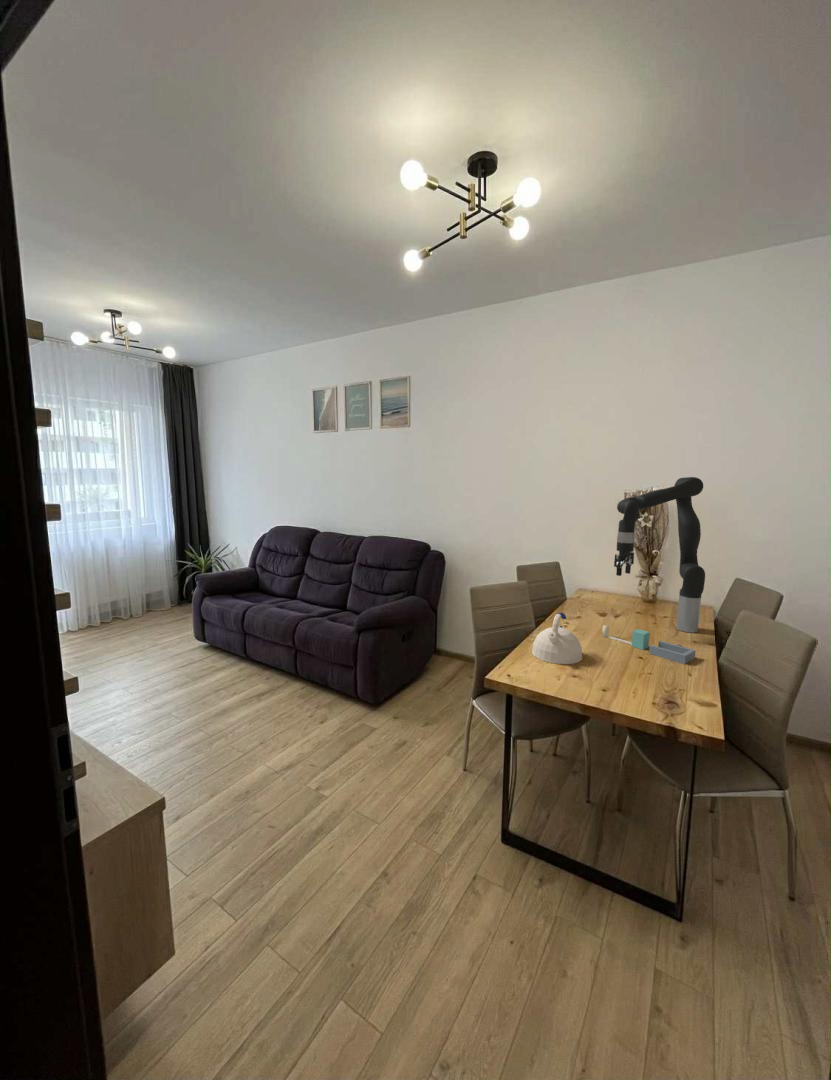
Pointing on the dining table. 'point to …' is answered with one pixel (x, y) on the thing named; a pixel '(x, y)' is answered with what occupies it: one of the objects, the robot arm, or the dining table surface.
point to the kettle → (557, 644)
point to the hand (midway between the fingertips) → (623, 574)
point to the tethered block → (638, 638)
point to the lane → (672, 652)
